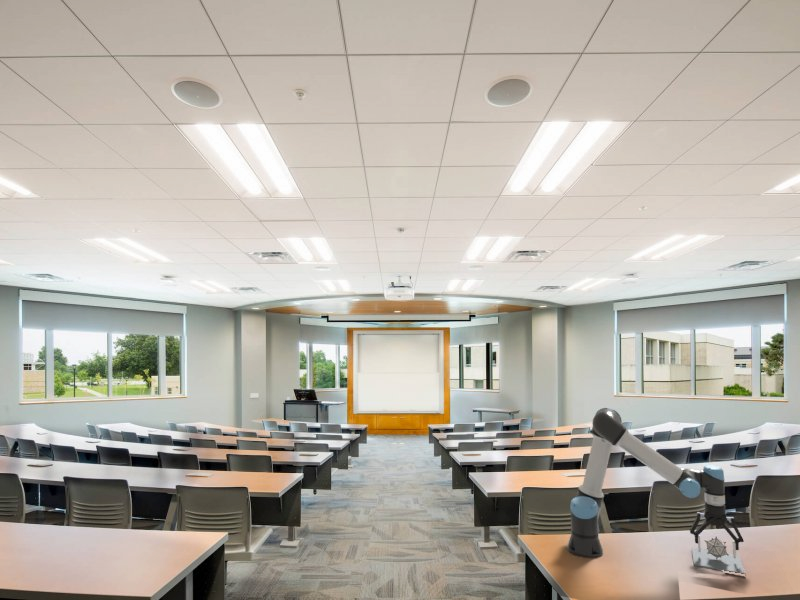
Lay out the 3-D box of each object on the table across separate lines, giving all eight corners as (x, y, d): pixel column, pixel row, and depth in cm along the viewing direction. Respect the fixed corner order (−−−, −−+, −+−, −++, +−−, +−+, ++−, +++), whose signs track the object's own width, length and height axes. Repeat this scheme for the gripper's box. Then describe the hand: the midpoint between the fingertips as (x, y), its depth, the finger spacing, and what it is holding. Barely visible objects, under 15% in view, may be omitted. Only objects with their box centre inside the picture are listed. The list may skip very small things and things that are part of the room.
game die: (732, 565, 210) (731, 541, 210) (710, 563, 211) (709, 539, 212) (723, 555, 218) (722, 532, 219) (701, 554, 220) (701, 531, 220)
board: (694, 567, 211) (694, 564, 211) (691, 550, 227) (691, 547, 227) (745, 577, 203) (745, 573, 203) (739, 558, 219) (739, 555, 219)
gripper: (682, 501, 218) (684, 551, 217) (750, 510, 207) (752, 563, 206) (682, 496, 225) (683, 545, 224) (747, 505, 214) (749, 556, 213)
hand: (716, 554), depth 215 cm, fingers open, 12 cm apart
